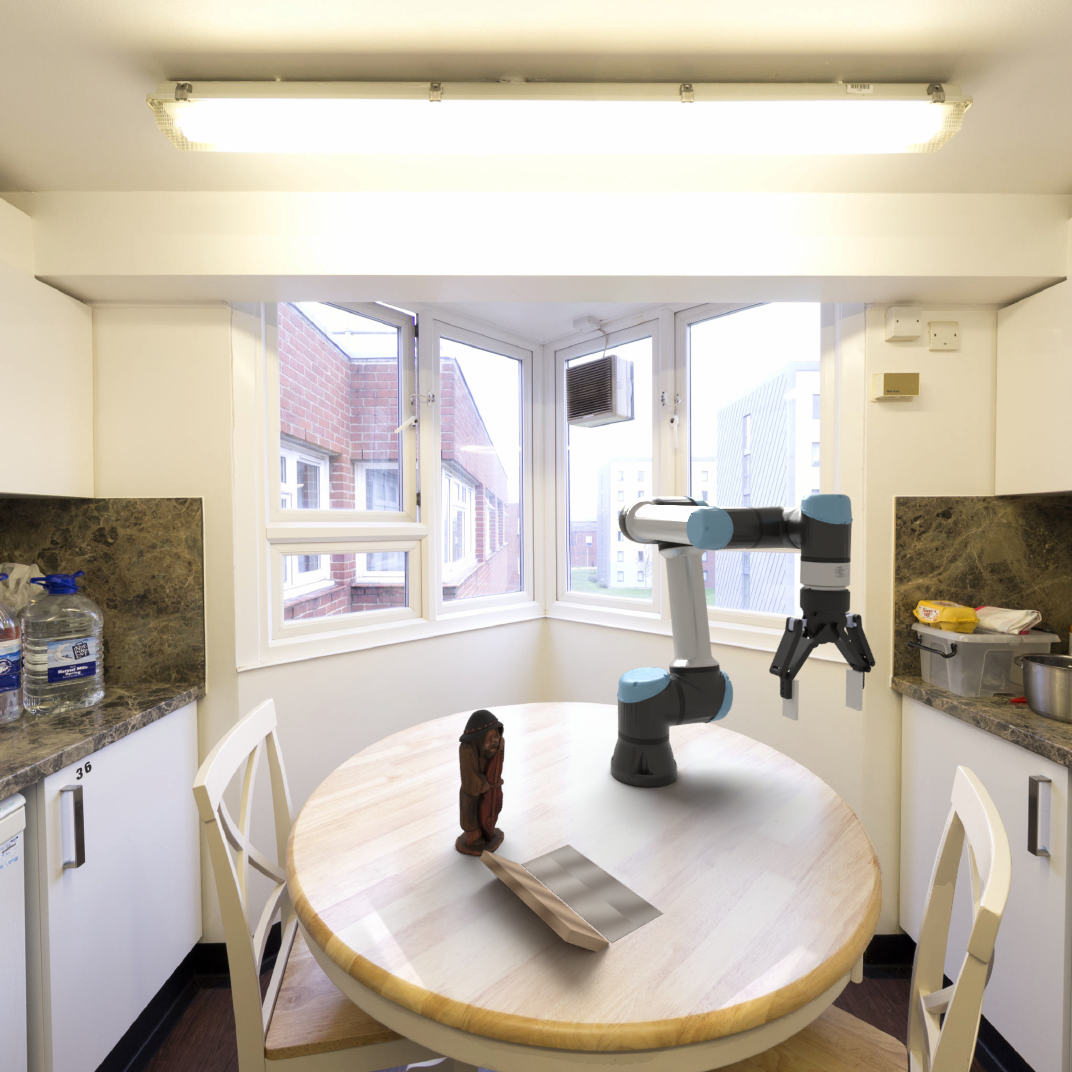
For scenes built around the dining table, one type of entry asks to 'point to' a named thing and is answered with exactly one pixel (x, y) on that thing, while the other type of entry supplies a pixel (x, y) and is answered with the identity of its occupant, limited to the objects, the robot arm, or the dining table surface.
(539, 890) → the plank
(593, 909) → the laid strip
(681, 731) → the dining table surface
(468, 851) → the figurine
